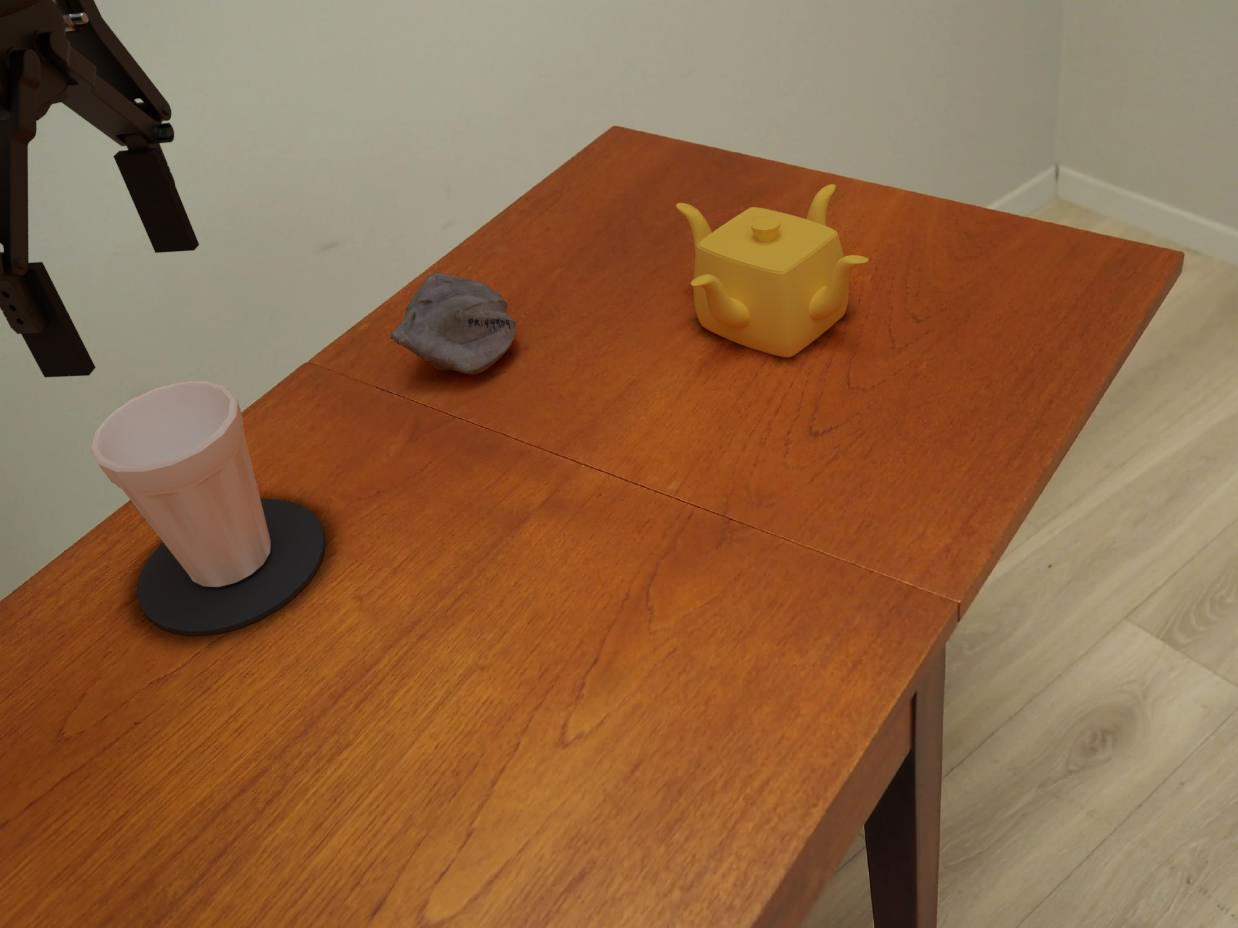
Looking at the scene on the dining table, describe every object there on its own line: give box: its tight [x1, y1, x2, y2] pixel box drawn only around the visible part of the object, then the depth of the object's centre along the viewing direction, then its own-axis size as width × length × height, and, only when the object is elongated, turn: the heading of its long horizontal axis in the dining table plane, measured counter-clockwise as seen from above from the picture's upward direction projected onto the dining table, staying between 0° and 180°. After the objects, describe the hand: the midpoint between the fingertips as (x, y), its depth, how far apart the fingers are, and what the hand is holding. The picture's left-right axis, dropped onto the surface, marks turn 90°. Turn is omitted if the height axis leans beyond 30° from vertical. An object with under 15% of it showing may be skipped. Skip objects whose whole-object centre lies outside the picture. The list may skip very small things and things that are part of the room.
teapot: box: [675, 183, 869, 358], centre depth 100 cm, size 15×14×10 cm
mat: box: [136, 498, 326, 636], centre depth 88 cm, size 14×14×1 cm
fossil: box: [390, 272, 517, 376], centre depth 102 cm, size 11×9×8 cm
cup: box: [90, 380, 271, 587], centre depth 83 cm, size 10×10×13 cm
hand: (128, 306), depth 69 cm, fingers open, 13 cm apart
